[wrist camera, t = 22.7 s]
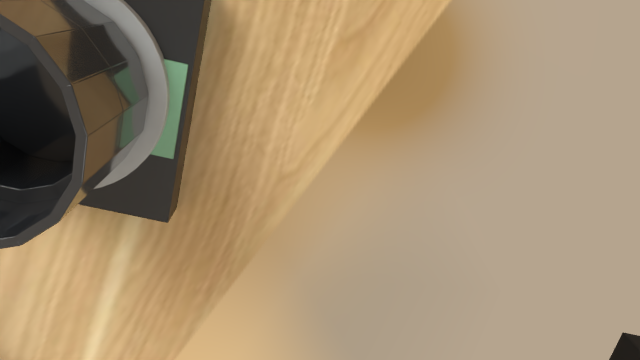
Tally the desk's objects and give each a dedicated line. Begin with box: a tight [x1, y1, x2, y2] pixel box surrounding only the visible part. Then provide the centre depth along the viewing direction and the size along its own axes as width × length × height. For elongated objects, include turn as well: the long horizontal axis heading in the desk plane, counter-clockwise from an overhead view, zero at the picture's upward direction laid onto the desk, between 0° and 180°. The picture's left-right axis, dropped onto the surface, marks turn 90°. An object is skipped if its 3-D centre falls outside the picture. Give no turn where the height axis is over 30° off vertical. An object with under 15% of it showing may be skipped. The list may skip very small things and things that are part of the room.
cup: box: [0, 0, 149, 249], centre depth 27 cm, size 11×11×10 cm
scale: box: [78, 0, 211, 223], centre depth 33 cm, size 15×15×3 cm
